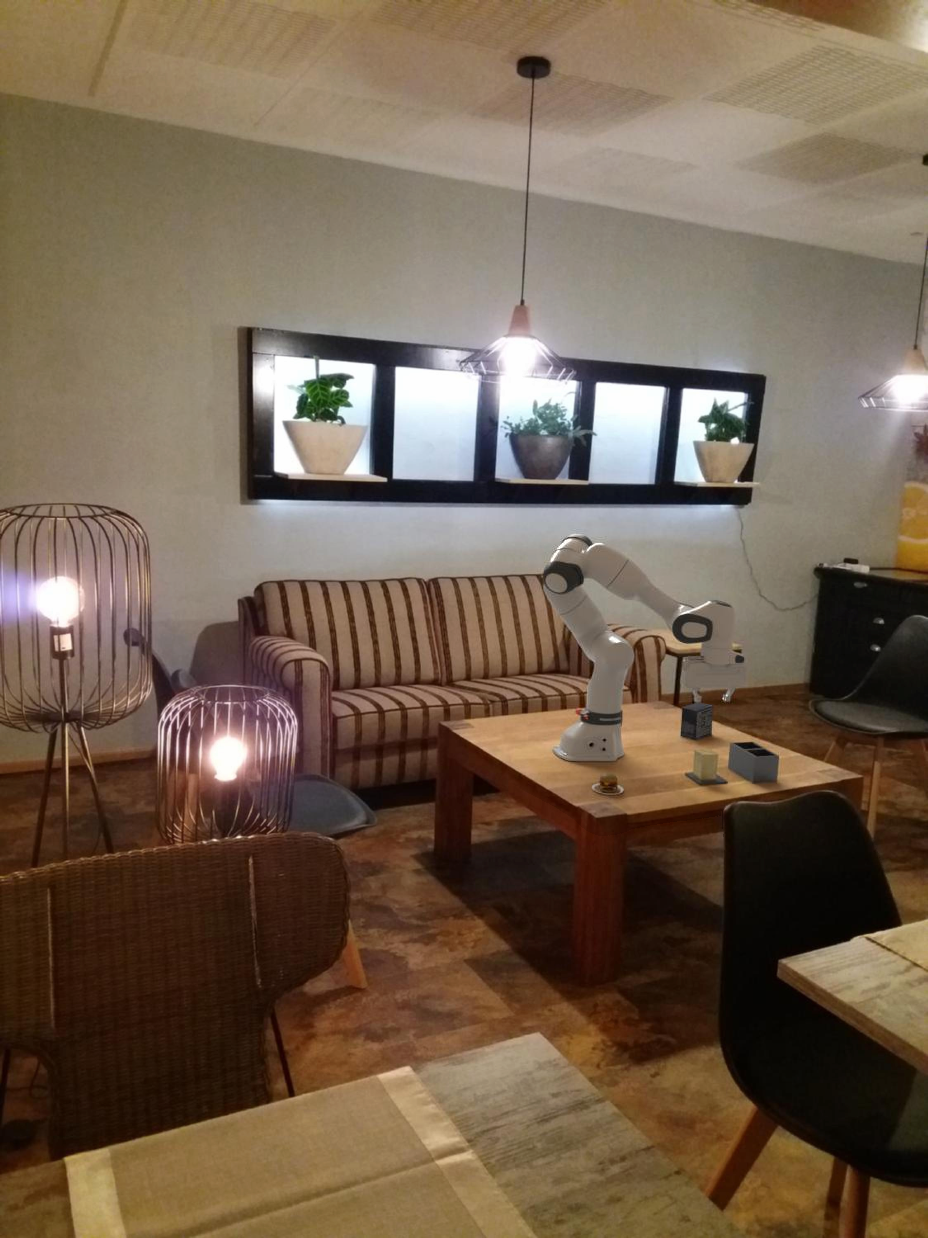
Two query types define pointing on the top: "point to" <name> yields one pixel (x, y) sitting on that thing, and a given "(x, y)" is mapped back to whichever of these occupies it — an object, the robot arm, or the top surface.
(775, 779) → the divided storage bin
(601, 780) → the hamburger
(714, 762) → the cream tapered block
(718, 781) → the mat
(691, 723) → the small box
